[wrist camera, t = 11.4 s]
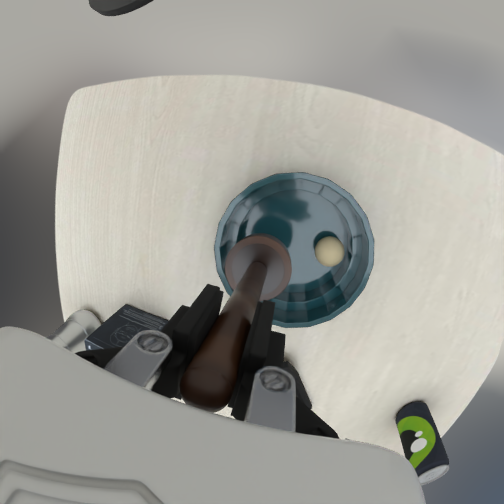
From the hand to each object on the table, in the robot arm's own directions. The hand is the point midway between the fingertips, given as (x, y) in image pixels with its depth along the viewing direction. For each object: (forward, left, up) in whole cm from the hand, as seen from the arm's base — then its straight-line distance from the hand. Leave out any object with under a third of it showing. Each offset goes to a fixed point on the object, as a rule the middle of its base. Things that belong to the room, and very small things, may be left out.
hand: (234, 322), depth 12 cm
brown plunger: (+2, 0, -14) cm, 14 cm away
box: (+18, -14, -20) cm, 31 cm away
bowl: (0, +3, -20) cm, 20 cm away
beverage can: (+23, +32, -20) cm, 44 cm away
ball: (0, +6, -18) cm, 19 cm away
